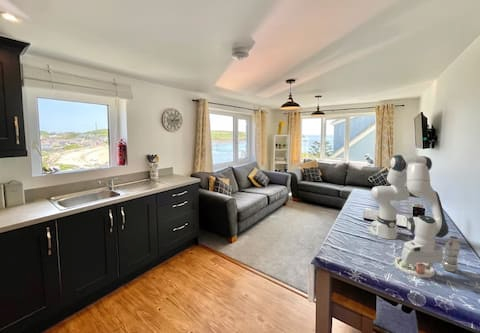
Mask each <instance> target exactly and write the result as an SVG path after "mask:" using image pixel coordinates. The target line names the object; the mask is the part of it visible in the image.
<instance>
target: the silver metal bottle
mask: <svg viewBox="0 0 480 333" xmlns="http://www.w3.org/2000/svg"><path fill="white" fill-rule="evenodd" d="M458 242H459V237H456V236H453V235H449V238H448V240H447V241H446V243H445V244H444V249H445V252H444V253H445V254H444V256H443V261H442V262H441V265H442V268H443V269H444V270H446V271H447V272H451V273H456V271H458V257H459V254H460V252H461V245H460V244H459V243H458Z"/></svg>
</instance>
